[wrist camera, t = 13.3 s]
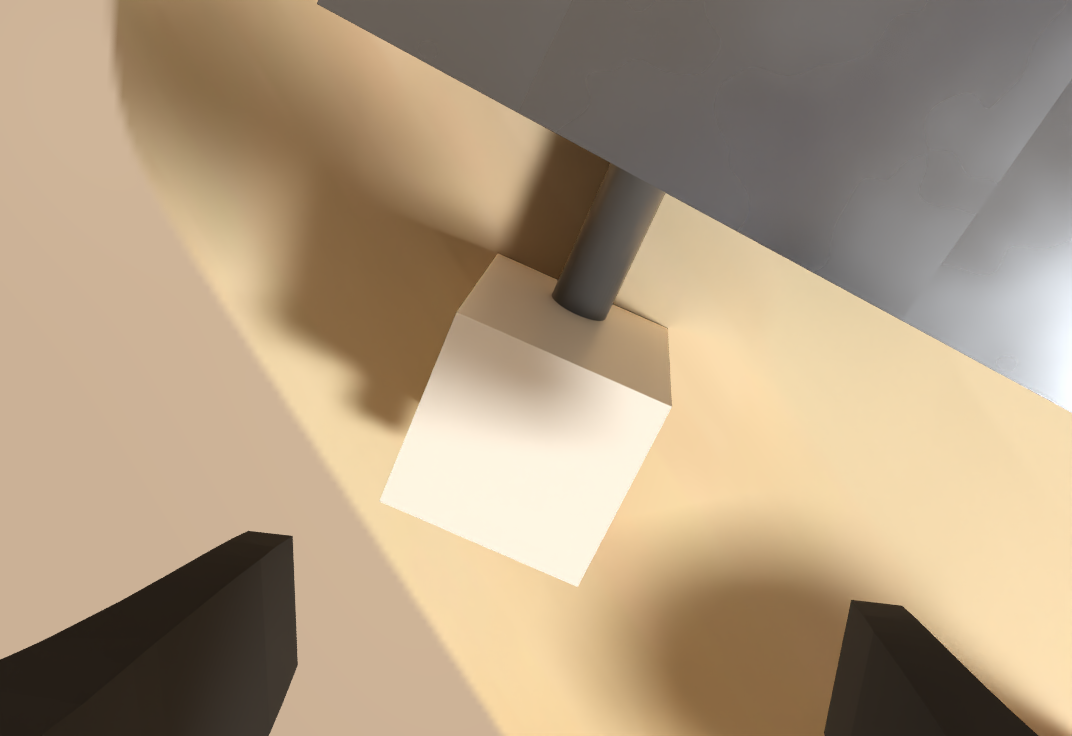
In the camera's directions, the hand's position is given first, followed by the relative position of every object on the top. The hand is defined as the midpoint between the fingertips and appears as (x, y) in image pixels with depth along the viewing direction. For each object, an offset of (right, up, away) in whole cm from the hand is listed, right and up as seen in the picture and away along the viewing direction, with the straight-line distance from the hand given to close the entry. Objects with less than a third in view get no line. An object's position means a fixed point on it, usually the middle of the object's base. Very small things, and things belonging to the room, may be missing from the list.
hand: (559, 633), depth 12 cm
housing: (+4, +9, +6) cm, 12 cm away
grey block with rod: (+2, +8, +7) cm, 11 cm away
